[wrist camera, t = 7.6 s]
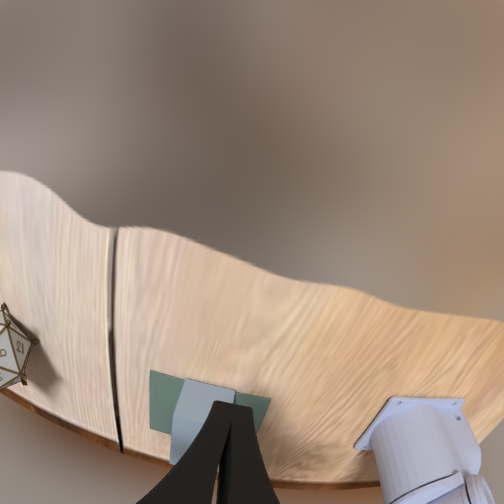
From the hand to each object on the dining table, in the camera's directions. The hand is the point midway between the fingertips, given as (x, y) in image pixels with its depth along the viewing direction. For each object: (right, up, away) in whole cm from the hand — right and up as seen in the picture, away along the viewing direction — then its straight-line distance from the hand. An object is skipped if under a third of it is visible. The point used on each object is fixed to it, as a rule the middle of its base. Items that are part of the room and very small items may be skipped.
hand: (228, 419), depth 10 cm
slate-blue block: (-3, -5, +11) cm, 12 cm away
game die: (-22, -1, +14) cm, 26 cm away
